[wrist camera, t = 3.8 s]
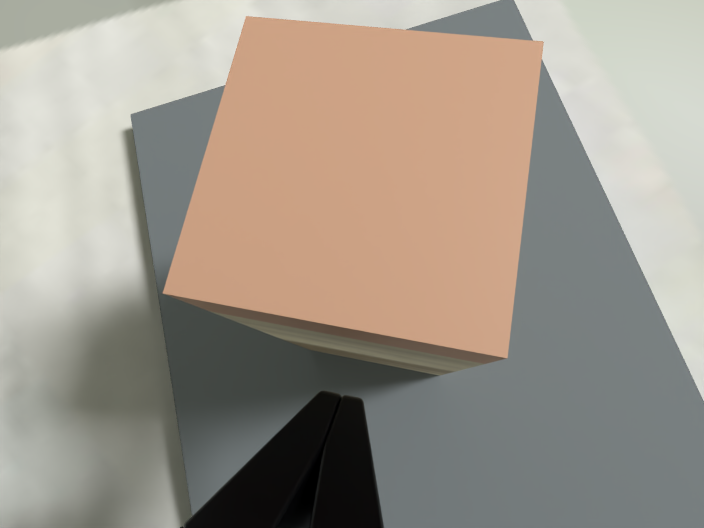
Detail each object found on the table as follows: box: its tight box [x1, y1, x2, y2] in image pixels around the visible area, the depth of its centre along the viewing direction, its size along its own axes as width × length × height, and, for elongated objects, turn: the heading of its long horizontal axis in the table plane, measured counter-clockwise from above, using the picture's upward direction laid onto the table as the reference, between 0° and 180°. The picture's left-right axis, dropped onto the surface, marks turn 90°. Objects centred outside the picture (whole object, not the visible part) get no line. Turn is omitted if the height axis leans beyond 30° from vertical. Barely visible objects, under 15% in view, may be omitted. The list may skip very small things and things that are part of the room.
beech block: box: [163, 16, 544, 376], centre depth 11 cm, size 4×4×10 cm
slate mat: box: [131, 0, 704, 528], centre depth 16 cm, size 22×16×1 cm
